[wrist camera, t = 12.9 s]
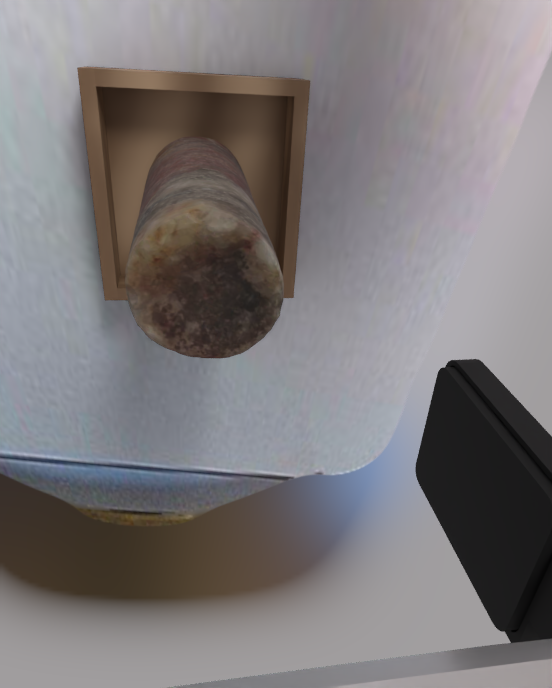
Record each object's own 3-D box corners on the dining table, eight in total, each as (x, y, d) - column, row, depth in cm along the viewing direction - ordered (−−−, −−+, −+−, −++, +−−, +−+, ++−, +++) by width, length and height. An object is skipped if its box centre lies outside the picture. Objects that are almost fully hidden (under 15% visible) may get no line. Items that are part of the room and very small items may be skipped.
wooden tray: (300, 78, 38) (310, 80, 34) (286, 281, 45) (293, 297, 42) (86, 66, 35) (77, 67, 32) (110, 283, 43) (104, 300, 40)
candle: (220, 249, 42) (244, 384, 25) (133, 212, 40) (93, 334, 22) (260, 161, 39) (319, 245, 22) (169, 116, 37) (155, 170, 19)
